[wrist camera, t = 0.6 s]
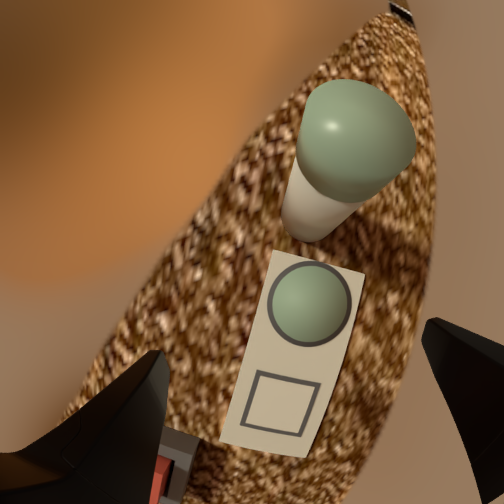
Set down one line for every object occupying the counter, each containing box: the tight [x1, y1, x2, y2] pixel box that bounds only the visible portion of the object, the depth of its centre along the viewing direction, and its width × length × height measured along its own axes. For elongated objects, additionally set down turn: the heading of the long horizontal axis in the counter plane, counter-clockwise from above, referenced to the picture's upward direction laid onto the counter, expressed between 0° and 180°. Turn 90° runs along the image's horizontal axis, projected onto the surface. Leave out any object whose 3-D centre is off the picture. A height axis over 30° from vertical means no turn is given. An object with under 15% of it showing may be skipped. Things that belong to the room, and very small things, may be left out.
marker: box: [281, 79, 416, 242], centre depth 15 cm, size 5×5×13 cm
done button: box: [149, 455, 172, 504], centre depth 15 cm, size 4×4×3 cm
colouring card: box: [219, 250, 365, 458], centre depth 20 cm, size 17×8×1 cm, turn 165°
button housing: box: [158, 426, 200, 504], centre depth 17 cm, size 8×8×3 cm
